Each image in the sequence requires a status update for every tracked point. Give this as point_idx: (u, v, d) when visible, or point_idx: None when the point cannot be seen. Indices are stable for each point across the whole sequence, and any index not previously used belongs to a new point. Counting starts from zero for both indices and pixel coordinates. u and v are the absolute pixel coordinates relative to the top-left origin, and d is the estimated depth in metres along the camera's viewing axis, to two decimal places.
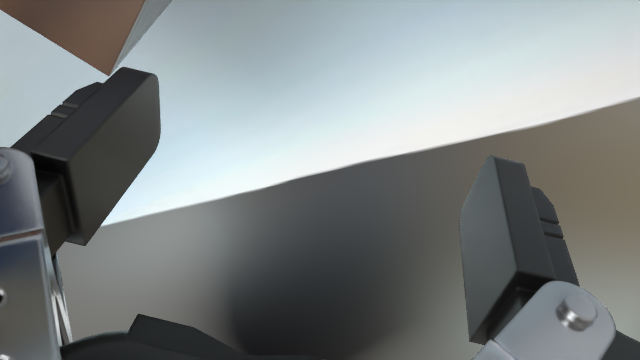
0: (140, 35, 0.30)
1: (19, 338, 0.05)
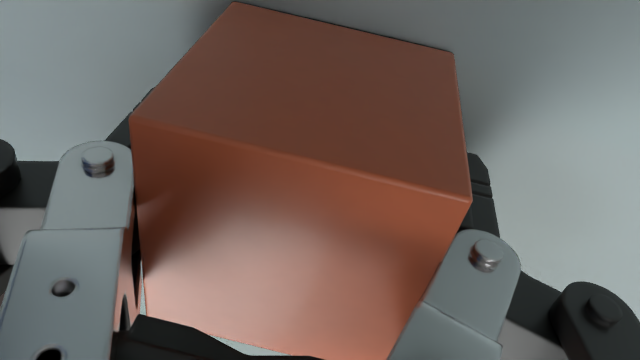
0: None
1: (78, 332, 0.05)
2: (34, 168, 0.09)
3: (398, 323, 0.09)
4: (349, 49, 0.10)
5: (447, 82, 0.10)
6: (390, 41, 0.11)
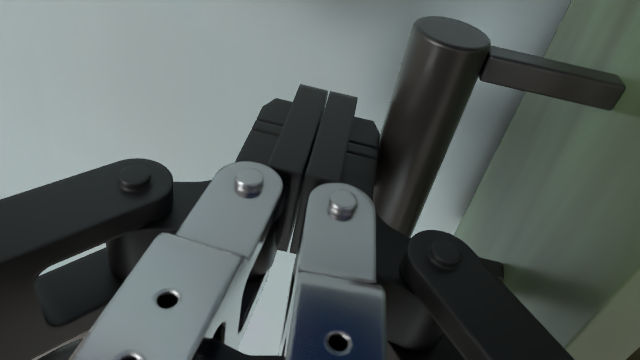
0: None
1: (161, 350, 0.05)
2: (180, 189, 0.09)
3: None
4: None
5: None
6: None
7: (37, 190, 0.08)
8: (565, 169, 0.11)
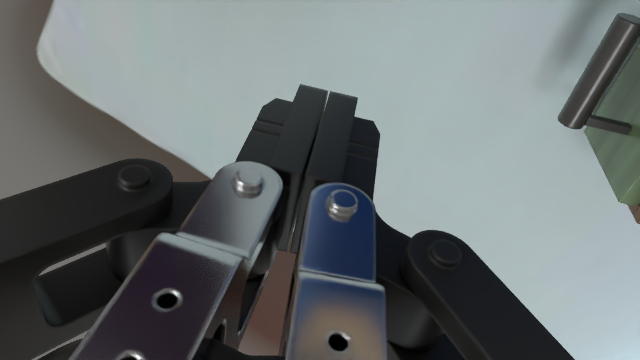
0: None
1: (161, 350, 0.05)
2: (180, 189, 0.09)
3: None
4: None
5: None
6: None
7: (37, 190, 0.08)
8: None
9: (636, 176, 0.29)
